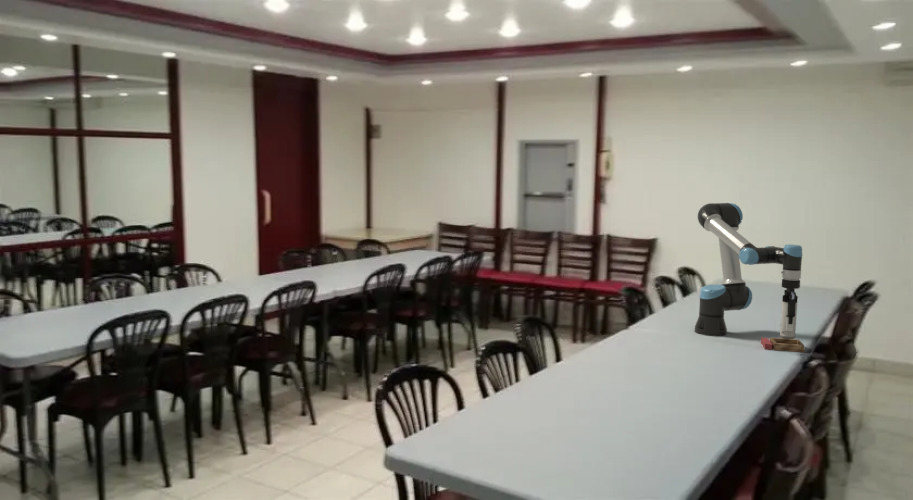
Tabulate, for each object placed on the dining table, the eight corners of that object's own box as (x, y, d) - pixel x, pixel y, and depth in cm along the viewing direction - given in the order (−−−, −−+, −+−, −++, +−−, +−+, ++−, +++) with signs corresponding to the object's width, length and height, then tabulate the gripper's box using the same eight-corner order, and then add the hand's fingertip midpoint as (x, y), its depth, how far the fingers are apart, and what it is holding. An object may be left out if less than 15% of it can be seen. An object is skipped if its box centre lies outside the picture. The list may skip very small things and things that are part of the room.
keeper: (773, 350, 320) (774, 343, 320) (768, 343, 333) (769, 337, 332) (805, 352, 317) (805, 346, 317) (798, 345, 330) (799, 339, 329)
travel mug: (783, 339, 321) (785, 295, 319) (777, 335, 328) (780, 293, 325) (797, 339, 320) (800, 295, 318) (792, 336, 327) (794, 293, 325)
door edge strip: (764, 349, 322) (765, 343, 322) (760, 342, 334) (761, 337, 333) (772, 349, 321) (772, 344, 321) (767, 343, 333) (767, 338, 333)
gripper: (778, 275, 331) (775, 324, 334) (786, 282, 313) (783, 333, 315) (795, 276, 329) (792, 325, 332) (804, 282, 311) (801, 334, 314)
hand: (787, 329), depth 324 cm, fingers closed on travel mug, 6 cm apart
